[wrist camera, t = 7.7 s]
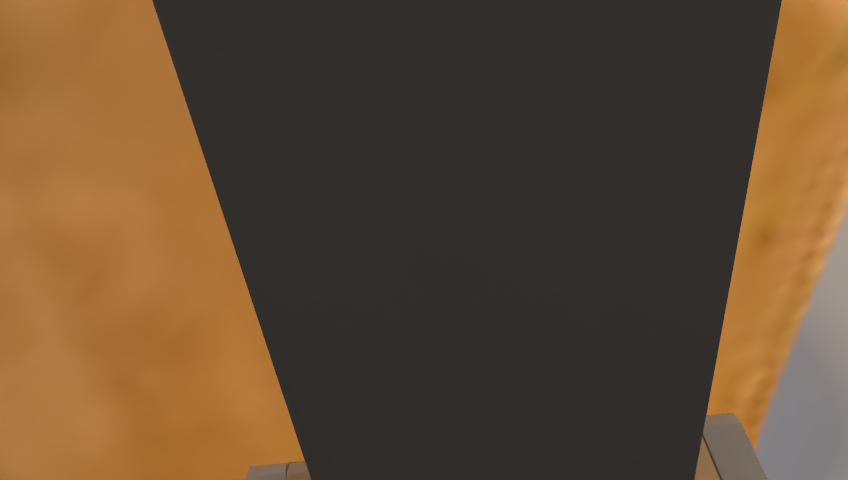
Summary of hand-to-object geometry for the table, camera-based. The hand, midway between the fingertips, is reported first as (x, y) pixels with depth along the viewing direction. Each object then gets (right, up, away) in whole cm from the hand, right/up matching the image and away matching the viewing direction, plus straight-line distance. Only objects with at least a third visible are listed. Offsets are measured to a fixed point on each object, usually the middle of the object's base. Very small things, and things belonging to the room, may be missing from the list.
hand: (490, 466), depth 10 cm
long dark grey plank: (-1, +6, -4) cm, 7 cm away
